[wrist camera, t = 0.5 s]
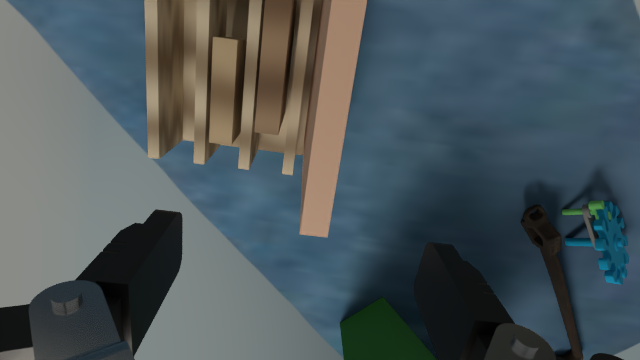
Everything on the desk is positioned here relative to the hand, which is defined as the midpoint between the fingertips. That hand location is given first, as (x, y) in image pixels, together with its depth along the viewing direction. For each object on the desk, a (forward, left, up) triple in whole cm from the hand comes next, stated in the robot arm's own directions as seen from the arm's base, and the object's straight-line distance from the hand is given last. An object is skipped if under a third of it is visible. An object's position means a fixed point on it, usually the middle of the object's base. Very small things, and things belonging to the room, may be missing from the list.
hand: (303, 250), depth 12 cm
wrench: (+22, +36, -32) cm, 53 cm away
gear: (+11, +39, -32) cm, 51 cm away
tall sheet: (-3, +1, -30) cm, 30 cm away
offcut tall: (-4, -3, -30) cm, 31 cm away
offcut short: (-1, -7, -30) cm, 31 cm away
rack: (-3, -5, -32) cm, 32 cm away
